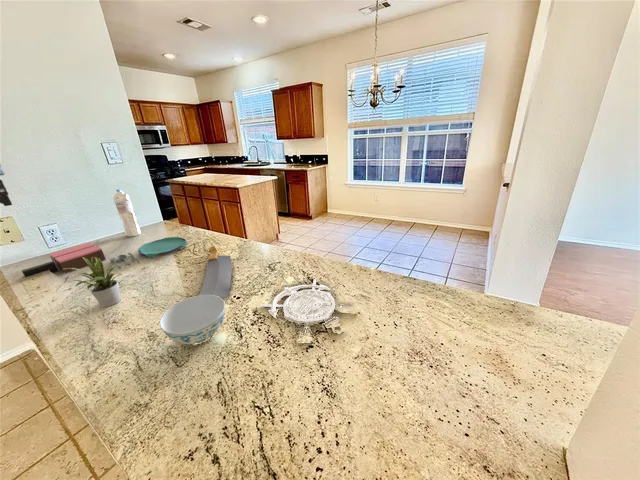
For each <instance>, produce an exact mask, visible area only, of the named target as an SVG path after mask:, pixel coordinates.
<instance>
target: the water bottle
mask: <svg viewBox="0 0 640 480" xmlns="http://www.w3.org/2000/svg"><path fill="white" fill-rule="evenodd" d="M112 200H113V203H114V204H115V207H116V210H117V213H118V216H119V220H120V222H121V224H122V228H123V231H124V233H125V235H126V237H128V238H132V237H136V236H137V237H138V236H139V235H141V233H142V231H141V228H140V225H139V221H138V219H137V216H136V213H135V211H134V207H133V204H132V201H131V199H130V195H128V194H127V193H125V192H123V191H122V189H121V188H117V189H116V193H115V194H114V196H113V197H112Z"/></svg>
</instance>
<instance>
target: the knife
mask: <svg viewBox="0 0 640 480" xmlns="http://www.w3.org/2000/svg"><path fill="white" fill-rule="evenodd" d="M47 271H49V272H51V273H56V272H59V271H61V270H60V268H59V266H58V264H57V262H56V261H55V262H53V261H52V260H51V261H48V262H44V263H42V264H39V265H34V266H32V267H29V268H25V269H22V270H21V273H22V274H23V276H24V277H25V278H28V277H31V276H34V275H38V274H41V273H43V272H47Z"/></svg>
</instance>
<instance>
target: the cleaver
mask: <svg viewBox="0 0 640 480" xmlns="http://www.w3.org/2000/svg"><path fill="white" fill-rule="evenodd" d="M208 252H209V253H210V254H209V255H208V258H207V264H206V272H205V276H204V279H203V283H202V287H201V290H200V292H199V293H198V295H197V296H199V295H215V296H218V297H220V298H221V299H225V298H227V297H228V295H229V293H230V290H231V284H232V283H231V282H232V272H233V271H232V270H233V263H232V258H231V255H219V254H220V252H219V249H218V248H217V247H216V245H212V246H210V247H209V249H208Z"/></svg>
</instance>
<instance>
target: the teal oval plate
mask: <svg viewBox="0 0 640 480" xmlns="http://www.w3.org/2000/svg"><path fill="white" fill-rule="evenodd" d="M187 244H188V242H187V240H186V238H183V237H179V236H167V237H163V238H161V239H160V238H159V239H156V240H154V241H150V242H146V243H144V244H142V245H141V246H140V247H139V248H138V249H137V252H138V254H139V255H141V256H145V257H147V258H149V259H154V258H155V256H161V255H165V254H168V253H171V252H172V253H173V252H174V251H177V250H179V249H181V248H184V247H186V246H187ZM127 254H128V255H129V256H130V257H131V260H134V261H136V263H137V264H140V261H139V260H138V259H137V257H136V256H135V255H134V254H132V253H131V252H128V253H127ZM116 258H117V259H115V257H112V258H109V262H111V261H112V263H111V264H113V263H114V262H115V261H116V262H115V263H114V265H115V266H117V267H116V268H118V269H119V270H120V269H122V267H121V266H120V265H119V264H118V261H124V262H125V263H126V264H127V265H128V266H131V262H129V261H128V260H127V255H126V254H119V255H117V257H116ZM112 259H113V260H112ZM117 260H118V261H117Z"/></svg>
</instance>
